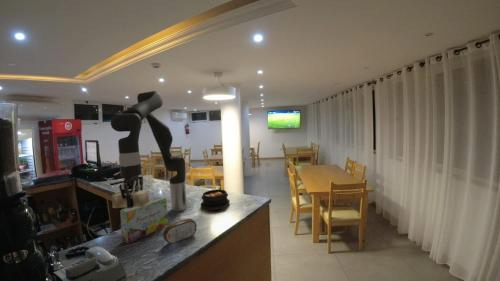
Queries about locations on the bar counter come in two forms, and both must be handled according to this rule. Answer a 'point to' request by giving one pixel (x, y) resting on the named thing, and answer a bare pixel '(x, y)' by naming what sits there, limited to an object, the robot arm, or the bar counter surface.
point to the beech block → (138, 199)
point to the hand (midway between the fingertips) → (134, 204)
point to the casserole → (215, 199)
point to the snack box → (143, 219)
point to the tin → (179, 231)
